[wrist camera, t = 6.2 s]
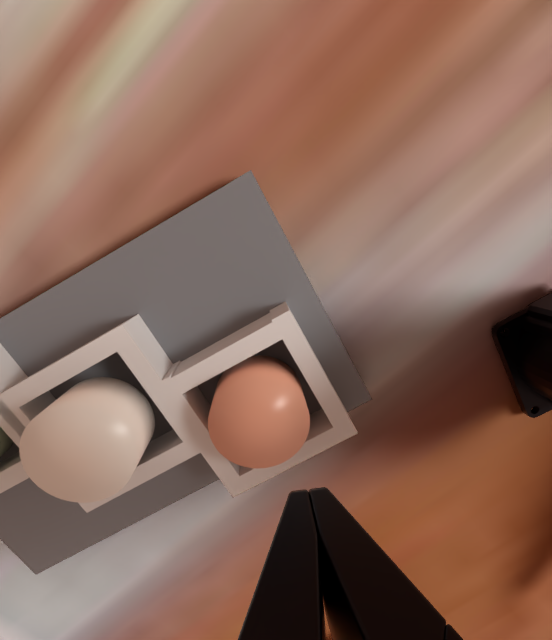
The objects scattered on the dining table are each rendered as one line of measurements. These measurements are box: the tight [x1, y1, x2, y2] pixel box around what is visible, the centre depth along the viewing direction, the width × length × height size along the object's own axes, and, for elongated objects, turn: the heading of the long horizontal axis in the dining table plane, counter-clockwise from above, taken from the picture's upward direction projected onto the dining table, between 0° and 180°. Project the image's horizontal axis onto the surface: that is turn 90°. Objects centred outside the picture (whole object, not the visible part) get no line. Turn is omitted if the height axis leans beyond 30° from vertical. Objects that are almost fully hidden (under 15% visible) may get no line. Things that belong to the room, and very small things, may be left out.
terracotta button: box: [208, 355, 310, 468], centre depth 16 cm, size 4×4×3 cm
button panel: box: [0, 170, 372, 574], centre depth 17 cm, size 13×22×4 cm, turn 119°
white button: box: [19, 377, 155, 503], centre depth 14 cm, size 4×4×3 cm
